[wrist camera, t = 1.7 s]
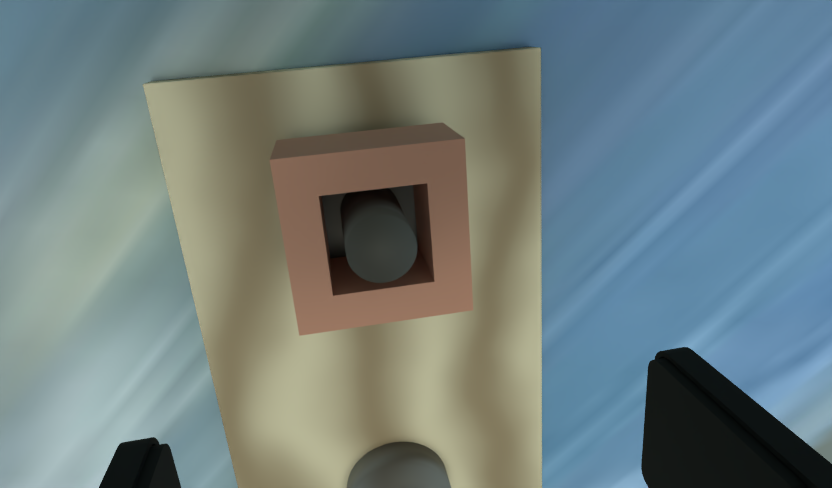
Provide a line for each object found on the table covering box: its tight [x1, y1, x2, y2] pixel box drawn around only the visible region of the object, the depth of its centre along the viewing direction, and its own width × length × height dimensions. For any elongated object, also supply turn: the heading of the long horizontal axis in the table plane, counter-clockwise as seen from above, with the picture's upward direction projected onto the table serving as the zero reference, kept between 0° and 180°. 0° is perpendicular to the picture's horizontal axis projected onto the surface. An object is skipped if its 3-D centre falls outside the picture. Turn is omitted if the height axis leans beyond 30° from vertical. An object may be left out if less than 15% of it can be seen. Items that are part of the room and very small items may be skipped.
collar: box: [270, 122, 473, 336], centre depth 24 cm, size 7×7×4 cm
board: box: [143, 47, 542, 488], centre depth 29 cm, size 18×30×10 cm, turn 5°
